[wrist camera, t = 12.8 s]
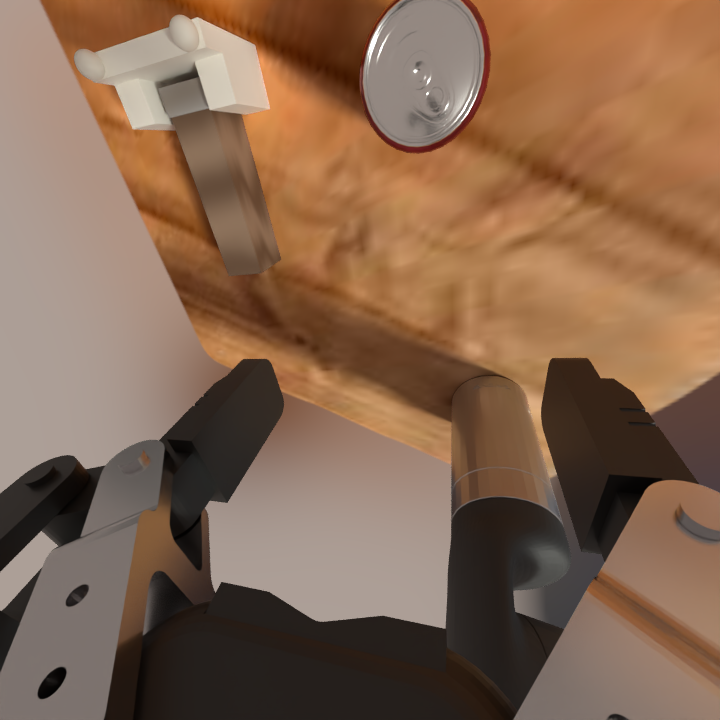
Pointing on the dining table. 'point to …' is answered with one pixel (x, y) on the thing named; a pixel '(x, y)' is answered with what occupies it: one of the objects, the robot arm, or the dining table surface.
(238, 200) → the rail
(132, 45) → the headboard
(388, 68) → the soda can
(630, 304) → the dining table surface
